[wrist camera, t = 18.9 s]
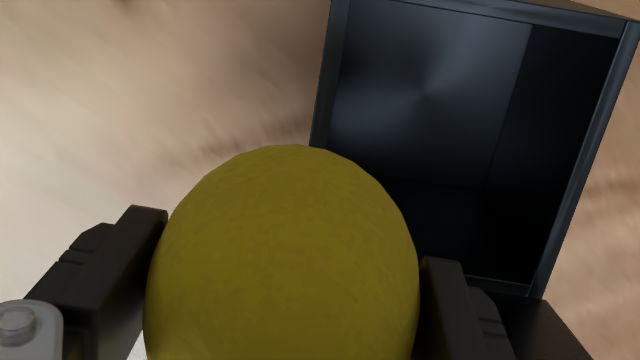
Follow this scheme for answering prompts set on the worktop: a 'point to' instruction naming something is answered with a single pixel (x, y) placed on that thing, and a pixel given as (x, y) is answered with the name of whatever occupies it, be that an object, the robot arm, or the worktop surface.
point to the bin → (475, 120)
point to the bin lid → (536, 329)
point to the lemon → (283, 265)
